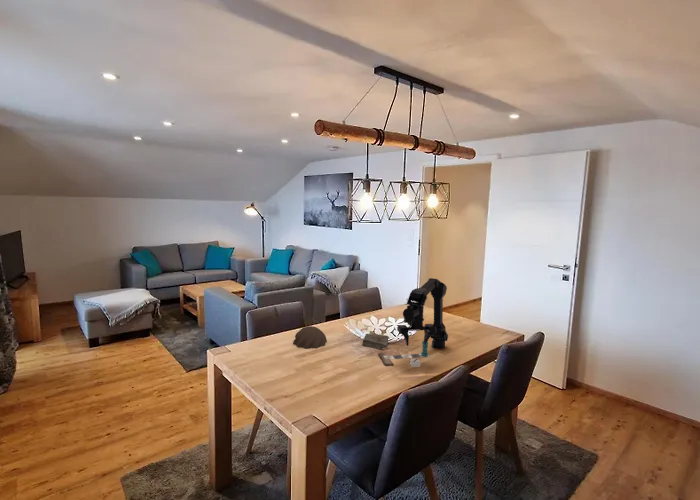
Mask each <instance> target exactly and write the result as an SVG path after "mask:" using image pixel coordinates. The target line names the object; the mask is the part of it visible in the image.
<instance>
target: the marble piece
mask: <svg viewBox="0 0 700 500" xmlns="http://www.w3.org/2000/svg"><path fill="white" fill-rule="evenodd" d="M388 339H390V337H389V336H388V335H385V334H378V333H365V335H364V337H363V339H362V343H361V344H362V346H364V347H367V348H370V349H375V350H379V351H385V349H387V347H388V344H389V340H388Z"/></svg>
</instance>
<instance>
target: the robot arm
mask: <svg viewBox="0 0 700 500" xmlns="http://www.w3.org/2000/svg"><path fill="white" fill-rule="evenodd" d="M447 290H448V287H447V285H446V284H445V283H444V282H441V281H440V280H439V279H438V278H432V277H431V278H428V280H427V281H426V282H425V283H424V284H423V285H422V286H421V287H418V288H417V287H416V288H414V289H412V290H411V291H410V293H409V294H408V295H409V296H408V298H407V302H406V305H407V306H406V308H405V309H403V312H402V316H403V322H404V323H405V324H407V325H408V326H407V325H405V324H398V325H397V327H396V329H397V332H398V333H399V334H400V335H402V336H403V338H404V340H405V344H406V345H405V346H406V347H408V346H409V339H410V338H409V337H410V336H409V332H412V331H414V332H416V331H424V337H423V341H424V345H426V343H427V341H428V340H429V339H430V338H431V339H432V341H431V347H432V348H433V349H437V350H442V349H445V348H446V342H448V339H449V334H448V333H447V331H446V326H445V324H444V322H443V321H444V320H443V316H444V315H443V313H444V312H443V311H444V310H443V308H444V307H443V306H444V305H443V302H444V296H445V295H446V293H447ZM428 294H430V295H431V297H432V298H433V324H432V323H425V324H424V321H425V319H424V306H425V305H426V304H425V303H426V302H427V300H428ZM428 342H429V341H428Z"/></svg>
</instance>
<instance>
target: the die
mask: <svg viewBox="0 0 700 500" xmlns="http://www.w3.org/2000/svg"><path fill="white" fill-rule="evenodd" d="M409 359H410V360H409V365H410V366H411V367H412V368H420V367H421V360H419V358H409Z"/></svg>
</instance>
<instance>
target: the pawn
mask: <svg viewBox="0 0 700 500" xmlns="http://www.w3.org/2000/svg"><path fill="white" fill-rule="evenodd" d="M421 344H422V350H421V353H420V354H421V356H424V357H423V358H428V357H427V356H428V355H429V353H428V346H429V341H427V343H426V345H424V340H423V341H422V342H421Z"/></svg>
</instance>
